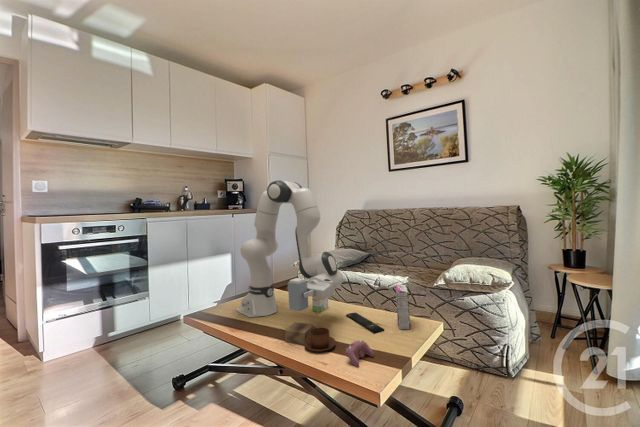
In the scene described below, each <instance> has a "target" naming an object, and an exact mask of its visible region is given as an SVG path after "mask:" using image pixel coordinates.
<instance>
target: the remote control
mask: <svg viewBox="0 0 640 427" xmlns="http://www.w3.org/2000/svg"><path fill="white" fill-rule="evenodd" d="M345 315H346V317H347V318H349V319H350V320H352V321H354V322H355V323H356V324H358V325H360V326H361V327H363V328H364V329H366V330H367V331H369V332H371V333H372V334H373V335H375V334H379V333H382V331H383V332H385V328H383V327H381V326H380V325H378V324H376V323H375V322H373V321H371V320H369V319H367V318H366V317H364V316H362V315H361V314H359V313H358V312H349V313H347V314H345Z"/></svg>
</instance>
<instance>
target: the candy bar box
mask: <svg viewBox="0 0 640 427" xmlns="http://www.w3.org/2000/svg"><path fill="white" fill-rule="evenodd" d="M395 298H396V315H397V316H396V317H397V319H396V320H397V326H398V329H399V330H402V329H403V330H404V329H410V330H411V320H410V303H409V290H408V286H407V284H395Z"/></svg>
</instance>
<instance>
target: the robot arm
mask: <svg viewBox="0 0 640 427" xmlns="http://www.w3.org/2000/svg"><path fill="white" fill-rule="evenodd" d="M282 204H291V205H292V206H293V209H294V211H295V216H296V227H295V234H294V235H295V242H296V247H297V253H298V254H297V255H298V270H299V272H300V274H301V275H302V276H303V277H304V278H306V279H308V280H307V291H308V292H303V293H302V297H304V298H306V297H308V298H310V297H311V298H312V297H317V298H327V297H328V298H329V297H334V296H335V295H334V293H335V290H336V289H338V288H339V287H340V286H341V285H342V284H343V281H344V276H343V273H342V272H341V271H340V270H339V268H338V265H337V260H336V258H335V257H334V256H333V254H332V253H330V252H328V251H323V252H320V253H317V254H314V255H311V251H310V244H309V236H310V235H311V233H312V232H313V231H314V229H316V228H317V226H319V223H320V220H321V212H320V210H319V206H318V203H317V200H316V198H315V196H314V194H313V192H312V191H311V189H310V188H307V187H303V186H301V184H299V183H298V182H293V181H290V180H280V179H279V180H275V181H274V180H273V181H272V182H270V183H269V185H268V186H267V189H266V190H264V191H263V192H262V193H261V196H260V198H259V201H258V204H257V209H256V213H255V217H254V223H253V224H254V228H255V230H256V236H255V237H254V238H249V239H248V240H247V241H245V242H244V243H242V245H241V247H240V250H239V251H240V255H241V257H242V258H243V259H244V260H245V261H246V263H247V265H248V268H249V273H250V286H249V285H248V288H247V289H249V290H248V293H247V294H245V296H243V297H242V299H241V301H240V306H239V307H237V308H236V312H237V313H240V314H242V315H244V316H246V317H248V318H255V317H266V316H271V315H273V314H276V312H278V305H277V303H276V302H277V301H276V294H275V292H274V290H275V285H274V283H273V281H274V280H273V270H272V268H271V266H269V263H268V261H267V260H268V259H267V257H270V256H272V255H274V253H275V252H277V250H278V247H279V246H278V241H277V239H276V227H277V222H278V218H279V213H280V207H281V206H282Z"/></svg>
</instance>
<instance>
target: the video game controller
mask: <svg viewBox="0 0 640 427" xmlns="http://www.w3.org/2000/svg"><path fill="white" fill-rule="evenodd" d="M365 353H366V354H367V355H368V356H369V357H371V358H374V357H375V352H374V351H373V350H372V348H371V347H370V346H369V345H368V344H367V342H365V340H356V341H355V340H354V341H353V342H351V343H350V344H349V345H348V346H347V347H346V348H345V355H346V357H347V358H348V359H349V361H350V363H352V365H354V366H355V367H357V368H358V367H359V366H360V363H359V359H360V358H364V357H365Z"/></svg>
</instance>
